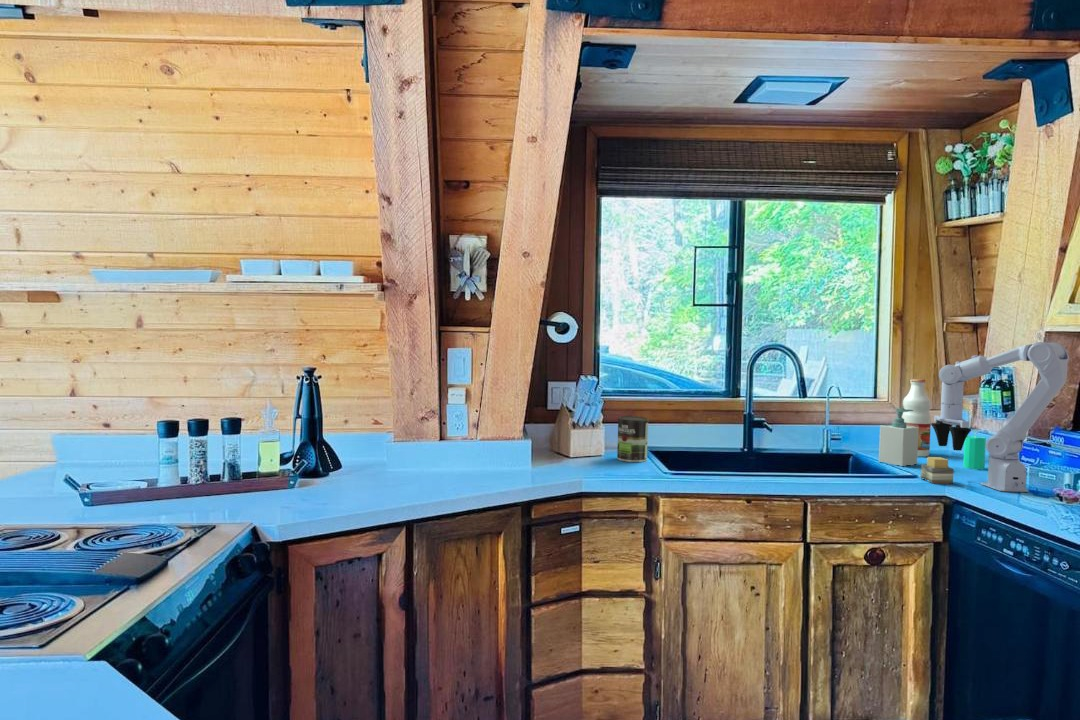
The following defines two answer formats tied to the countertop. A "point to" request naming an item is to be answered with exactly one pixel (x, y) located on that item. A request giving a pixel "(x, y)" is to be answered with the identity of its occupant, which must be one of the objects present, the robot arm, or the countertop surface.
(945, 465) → the ochre block
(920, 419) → the fruit juice
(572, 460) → the countertop surface
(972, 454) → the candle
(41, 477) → the countertop surface
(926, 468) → the tower base
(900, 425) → the soap bottle
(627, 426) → the coffee can
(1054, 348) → the robot arm
